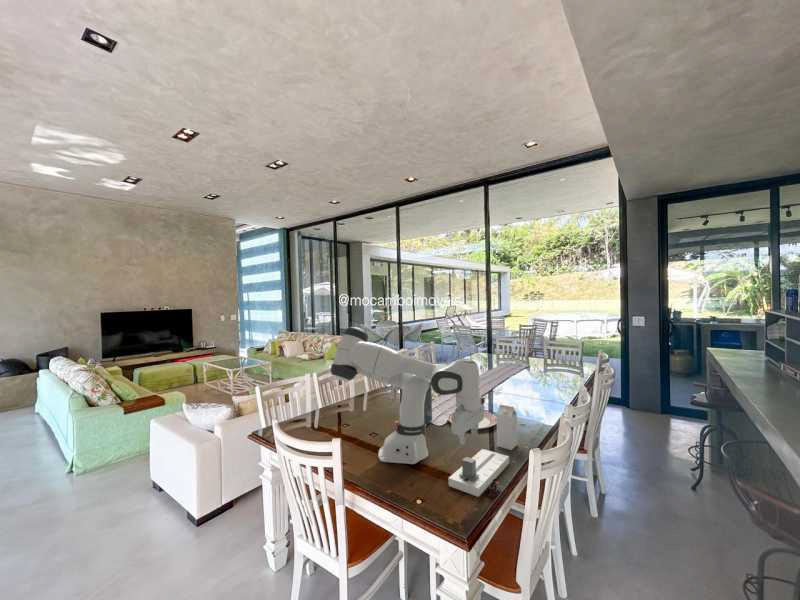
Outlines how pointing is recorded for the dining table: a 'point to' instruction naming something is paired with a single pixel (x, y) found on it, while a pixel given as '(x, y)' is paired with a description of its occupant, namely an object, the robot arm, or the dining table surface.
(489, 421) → the dinner plate
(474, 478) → the fader tab
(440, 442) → the dining table surface
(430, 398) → the bottle
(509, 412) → the milk carton
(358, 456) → the dining table surface
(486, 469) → the console board
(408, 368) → the robot arm
